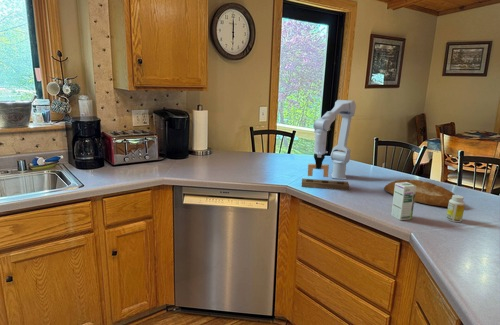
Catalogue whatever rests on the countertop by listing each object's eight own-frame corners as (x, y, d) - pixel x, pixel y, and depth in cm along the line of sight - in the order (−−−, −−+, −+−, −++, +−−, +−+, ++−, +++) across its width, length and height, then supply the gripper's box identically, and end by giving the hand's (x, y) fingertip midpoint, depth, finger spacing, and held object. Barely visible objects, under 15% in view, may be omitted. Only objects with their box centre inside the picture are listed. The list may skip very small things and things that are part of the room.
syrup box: (400, 220, 135) (405, 186, 131) (390, 215, 140) (395, 182, 137) (412, 219, 136) (417, 185, 133) (402, 214, 142) (406, 181, 138)
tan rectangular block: (307, 174, 177) (308, 163, 176) (328, 175, 175) (328, 164, 174) (307, 175, 175) (308, 164, 174) (328, 177, 173) (328, 165, 172)
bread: (391, 186, 180) (393, 170, 177) (467, 204, 156) (470, 186, 154) (377, 194, 167) (379, 177, 165) (457, 214, 144) (461, 194, 142)
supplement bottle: (463, 220, 137) (467, 196, 135) (459, 224, 133) (464, 199, 131) (447, 216, 141) (452, 193, 138) (444, 219, 137) (448, 196, 134)
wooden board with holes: (301, 182, 181) (302, 178, 180) (347, 186, 178) (347, 181, 177) (301, 186, 174) (301, 182, 174) (349, 190, 171) (349, 185, 170)
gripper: (328, 145, 163) (326, 172, 166) (328, 140, 177) (326, 165, 180) (314, 144, 165) (311, 171, 168) (314, 139, 178) (312, 164, 182)
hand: (318, 168), depth 174 cm, fingers closed on tan rectangular block, 2 cm apart
